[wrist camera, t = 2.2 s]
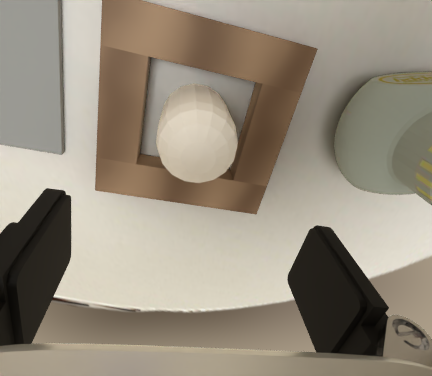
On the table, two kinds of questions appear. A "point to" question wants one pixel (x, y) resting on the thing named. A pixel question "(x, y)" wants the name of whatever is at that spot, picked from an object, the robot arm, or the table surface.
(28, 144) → the rubber mat
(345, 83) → the table surface
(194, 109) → the capsule
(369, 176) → the air freshener
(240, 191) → the walnut holder
